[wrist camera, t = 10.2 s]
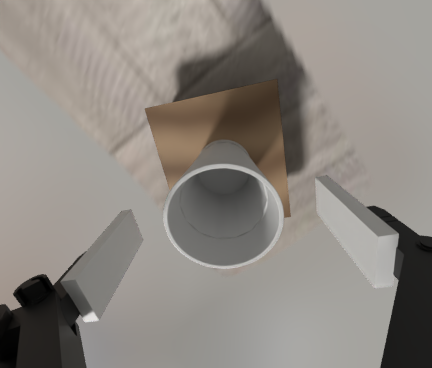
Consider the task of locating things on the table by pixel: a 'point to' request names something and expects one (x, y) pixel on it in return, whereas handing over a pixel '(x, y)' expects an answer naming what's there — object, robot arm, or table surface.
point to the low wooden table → (223, 131)
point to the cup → (223, 209)
